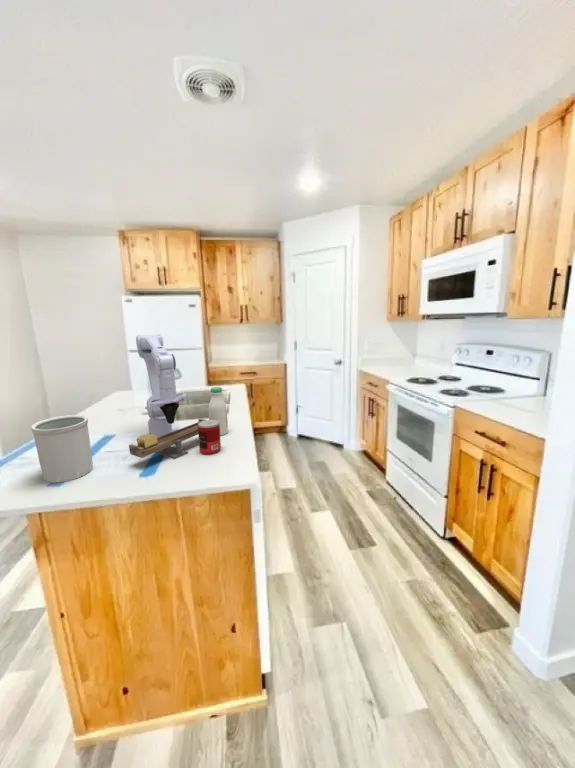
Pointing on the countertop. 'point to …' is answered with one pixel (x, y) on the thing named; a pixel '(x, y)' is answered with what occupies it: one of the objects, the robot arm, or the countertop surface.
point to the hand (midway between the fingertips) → (170, 423)
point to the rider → (147, 441)
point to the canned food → (209, 436)
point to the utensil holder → (63, 447)
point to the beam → (166, 440)
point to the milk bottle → (218, 409)
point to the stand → (173, 451)
